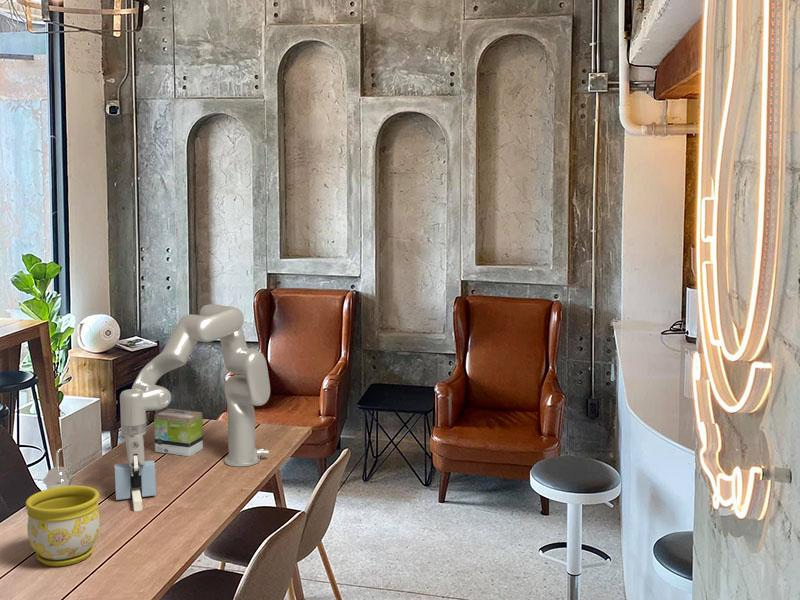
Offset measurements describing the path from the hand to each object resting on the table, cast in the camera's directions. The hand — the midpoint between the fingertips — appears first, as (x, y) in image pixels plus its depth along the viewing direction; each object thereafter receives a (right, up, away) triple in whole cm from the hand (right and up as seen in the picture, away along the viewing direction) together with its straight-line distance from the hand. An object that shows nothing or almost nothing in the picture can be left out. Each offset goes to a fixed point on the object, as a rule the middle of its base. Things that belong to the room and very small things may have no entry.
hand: (135, 484), depth 261 cm
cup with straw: (-19, -6, -11) cm, 23 cm away
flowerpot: (-5, -10, -42) cm, 43 cm away
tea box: (+1, +2, +48) cm, 48 cm away
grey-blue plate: (0, -4, 0) cm, 4 cm away
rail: (0, -4, 0) cm, 4 cm away
